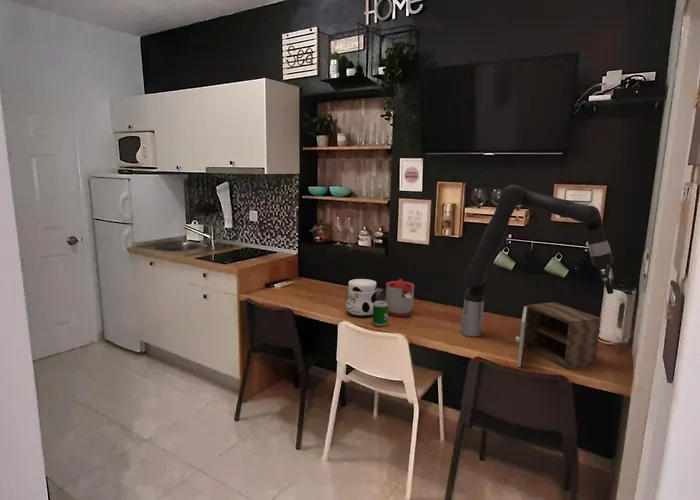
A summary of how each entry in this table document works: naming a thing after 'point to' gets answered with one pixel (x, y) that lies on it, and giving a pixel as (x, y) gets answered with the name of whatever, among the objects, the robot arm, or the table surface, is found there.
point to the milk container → (361, 297)
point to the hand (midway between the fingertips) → (611, 291)
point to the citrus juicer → (399, 297)
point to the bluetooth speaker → (380, 294)
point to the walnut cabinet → (561, 334)
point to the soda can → (380, 313)
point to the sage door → (521, 336)
